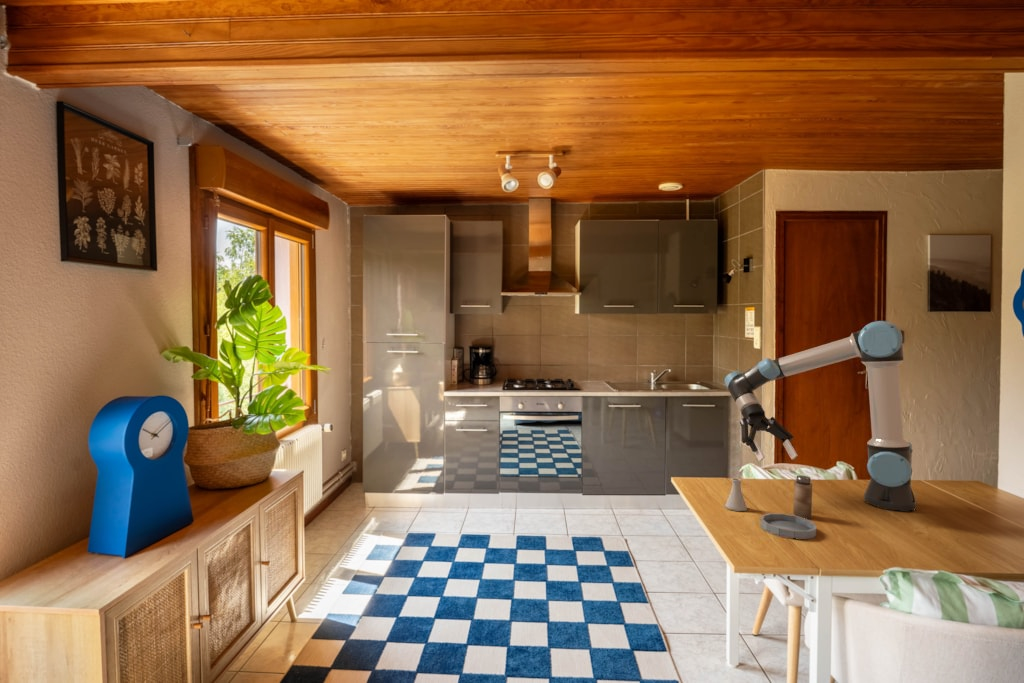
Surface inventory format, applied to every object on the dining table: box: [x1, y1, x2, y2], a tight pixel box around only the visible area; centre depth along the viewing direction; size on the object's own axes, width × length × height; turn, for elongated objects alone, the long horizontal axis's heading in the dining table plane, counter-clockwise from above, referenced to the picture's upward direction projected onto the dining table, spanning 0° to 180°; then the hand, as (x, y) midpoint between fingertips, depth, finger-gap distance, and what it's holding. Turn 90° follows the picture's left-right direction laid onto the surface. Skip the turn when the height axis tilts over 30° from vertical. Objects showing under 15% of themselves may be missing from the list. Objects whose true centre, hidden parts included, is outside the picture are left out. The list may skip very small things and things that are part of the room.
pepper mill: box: [792, 474, 813, 520], centre depth 176 cm, size 5×5×13 cm
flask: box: [724, 477, 748, 512], centre depth 183 cm, size 7×7×10 cm
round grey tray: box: [760, 512, 817, 540], centre depth 164 cm, size 15×15×2 cm
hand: (778, 458), depth 186 cm, fingers open, 13 cm apart
